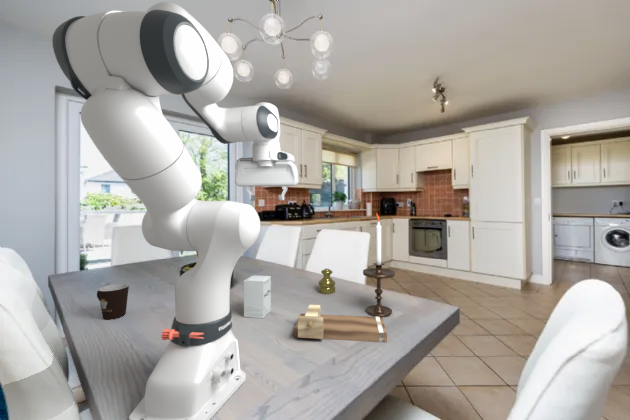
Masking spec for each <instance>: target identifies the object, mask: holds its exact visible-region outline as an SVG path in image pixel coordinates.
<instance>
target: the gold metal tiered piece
mask: <svg viewBox="0 0 630 420" xmlns="http://www.w3.org/2000/svg"><path fill="white" fill-rule="evenodd" d="M320 272H321V274H322V275H323V276H322V278H321V279H320V280H319V281H317V282H318V292H319V293H320V294H323V295H330V294H331V293H332V294H335V292H336V286H335V285H336V281H335V280H334V279H333V278H332V277H331V275H332V274H333V270H331V269H329V268H324V269H322V270H321V271H320ZM332 294H331V295H332Z"/></svg>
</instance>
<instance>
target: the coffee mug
mask: <svg viewBox="0 0 630 420" xmlns="http://www.w3.org/2000/svg"><path fill="white" fill-rule="evenodd" d="M129 288H130V284H128V283H116V284H115V283H114V284H110V285H109V284H108V285H104V286H102V287H100V288H98V289H97V292H96V297H97V299H98V301H99V304H100V311H101V315H102V319H103V320H104V321H112V320H111V319H113V320H117V318H118V319H121V318H123V317H124V315H125V314H127V306H128V296H129V290H130V289H129ZM125 316H126V315H125ZM120 317H121V318H120Z"/></svg>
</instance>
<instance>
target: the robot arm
mask: <svg viewBox="0 0 630 420" xmlns="http://www.w3.org/2000/svg"><path fill="white" fill-rule="evenodd" d="M52 48H53V49H52V50H53V53H54V56H55V59H56V61H57V63H58V66H59V67H60V69H61V71H62V73H63V75H65V78H67V79H68V81H69V84H70V86H71V88H72V89H73V90H74V92H75V93H77V94H78V95H79V96H80V97H81V98H83V99H85V100H86V101H84V103H83V104H82V106H81V109H80V121H81V123H82V126H83V128H84V130H85V131H86V133H87V135H88V137H89V138H90V139H91V141H92V143H93V144H94V145H95V146H94V147H96V149H97V150H98V152H99V153H100V154H101V156H102V157H103V159H104V160H105V161H106V162H107V164H108V165H109V166H110V167H111V169H112V170H113V171H114V172H115V173H116V174H117V175H118V177H119V178H120V179H121V180H122V181H123V182H124V183H125V184H126V185H127V187H128V188H129V189H130V190H131V191H132V192H133V194H134V195H136V197H137V198H138V199H139V201H141V203H142V204H143V205H144V207H145V209H146V212H145V214H144V215H143V217H142V219H141V220H142V221H141V232H142V234H143V237H144V238H143V239H145V242H147V243H148V244H149V245H150V246H152V247H155V248H159V249H164V250H168V251H171V252H172V251H173V252H175V251H176V252H197V259H196V263H195V266H194V267H191V268H190V269H188V270H187V271H184V272H183V273H182V274H181V275H180V276H179V278H178V279H177V281H176V282H175V284H174V285H175V286H174V296H175V297H174V298H175V299H174V300H175V301H174V303H175V304H174V305H175V316H174V318H173V320H172V324H171V328H170V329H169V328H164V329H163V330H162V332H161V333H160V334H161V335H160V336H161V340H162V341H167V340H169V342H168V344H167V346H166V348H165V349H164V351H162V354H161V356H160V358H159V359H158V362H157V363H156V364H155V367H154V369H153V370H152V372H151V373H150V374H149V377H148V379H147V381H146V383H145V391H144V392H145V393H144V396H143V397H142V398H141V400H140V402H138V404H137V406H136V407H135V408H134V409H133V410H132V412H131V413H130V415H129V416H128V420H211V419H212V418H213V417H214V415H216V414H217V412H218V411H220V409H221V408H222V407H223V406H224V404H226V402H227V401H228V400H229V399H230V398H231V397H232V396H233V395H234V394H235V392H236V391H237V390H238V389H239V388H240V387H241V386H242V385H243V384H244V383H245V381H246V380H247V375H246V372H245V371H243V370H242V369H241V362H240V361H241V360H240V351H239V342H238V341H239V340H238V339H237V338H236V337H235V335H234V333H233V331H232V328H233V313H232V312H233V311H232V309H231V308H230V305H231V304H230V303H231V300H230V299H231V297H230V296H231V281H232V279H231V278H232V275H233V271H234V269H235V266H236V264H237V263H238V261H239V259H240V258H241V257H242V256H243V255H244V253H245V252H246V251H247V250H249V249H250V248H252V247H253V246H254V245H255V243H256V241H257V240H258V238H259V236H260V233H261V219H260V216H259V214H258V212H257V211H256V209H255V208H254V207H253V205H251V204H249V203H248V204H247V203H243V202H238V201H234V200H199V199H197V198H196V197H197V196H198V194H199V193H200V191H201V187H202V184H203V183H202V181H203V180H202V178H203V177H202V173H201V171H200V169H199V168H198V166H197V164H196V163H195V161H194V159H193V158H192V156H191V154H190V152H189V151H188V149H187V148H186V146H185V145H184V143H183V141H182V140H181V138H180V136H179V135H178V133H177V132H176V130H175V128H174V127H173V126H172V125H171V123H170V121H169V120H167V118H166V117H165V116H164V113H163V112H162V107H161V103H160V102H161V101H160V96H166V95H173V94H174V95H181V97H182V99H183V100H184V102H185V103H186V105H187V106H188V107H189V108H190V109H191V110H192V112H193V113H194V114H195V115H196V116H197V117H198V118H199V119H200V120H201V121H202V122H203V123H204V124H205V125H206V126H207V127H208V129H209V130H210V132H211V134H212V136H213V137H214V138H215V139H216V140H217V141H218V142H220V143H221V144H223V145H226V144H227V145H229V144H234V143H242V142H243V143H245V142H252V149H251V150H252V153H251V154H252V157H240V158H238V159H237V160H236V161H235V164H234V166H235V167H234V169H235V173H234V174H235V175H234V184H235V185H236V186H237V187H241V188H243V187H244V188H245V190H246V192H247V194H248V195H249V201H253V202H255V201H256V200H257V197H256V194H253V192H252V191H253V187H281V189H282V190H283V191H282V192H281V194H278V201H285V195H286V193H287V192H288V190H289V188H288V187H296V186H298V185H299V181H300V179H299V178H300V177H299V171H298V167H297V165H296V164H295V163H296V162H295V161H296V158H295V156H294V155H292V154H291V153H290V152H289V153H288V152H286V151H282V150H281V144H280V138H281V137H280V136H281V121H280V113H279V109H278V107H277V106H276V105H274V104H272V103H270V102H266V101H265V102H263V101H262V102H258V103H255V104H254V105H247V106H246V105H245V106H236V107H221V106H218V104H217V103H219V102H221V101H222V100H223V99H224V98H226V97H227V95H228V94H229V92H230V90H231V88H232V86H233V83H234V69H233V65H232V64H231V61H230V59H229V57H228V56H227V54H226V53H225V51H224V50H223V49H222V48H221V46H220V45H219V44H218V42H217V41H216V40H215V38H214V37H213V36H212V35H211V33H210V32H208V30H207V29H206V28H205V27H204V26H203V25H202V24H201V23H200V22H199V21H198V20H197V19H196V18H195V17H194V16H193V15H192V14H190V13H189V12H188V11H187V10H186V9H185V8H183V7H182V6H180V5H178V4H177V3H173V2H170V1H169V2H168V1H161V2H158V3H155V4H153V5H152V6H150V7H148V8H147V10H146V11H138V10H135V11H134V10H132V11H131V10H129V11H127V10H126V11H123V10H122V11H121V10H109V11H102V12H98V13H94V14H90V15H87V16H85V15H84V16H83V15H80V16H75V17H72V18H69V19H67V20H65V21H64V22H62V23H61V24H59V25H58V26H57V28H56V29H55V30H54V32H53V34H52Z"/></svg>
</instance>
